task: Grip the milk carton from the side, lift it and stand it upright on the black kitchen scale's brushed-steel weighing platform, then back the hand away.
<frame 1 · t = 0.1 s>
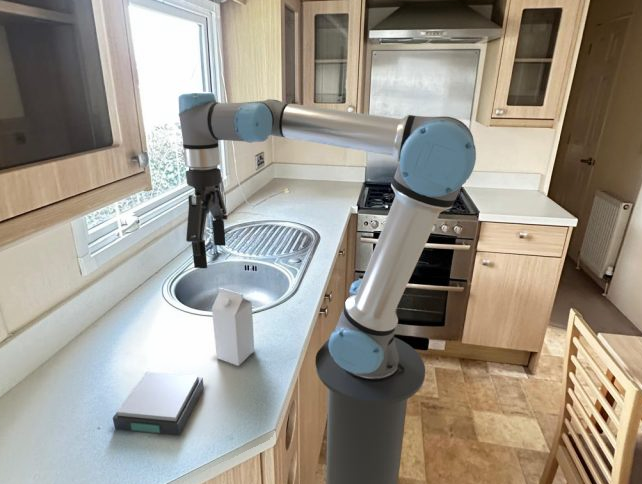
hand: (211, 255, 97), 28 cm above the worktop, tool pointing down, fingers open, 13 cm apart
kitchen scale: (162, 407, 90), on the worktop
milk carton: (235, 355, 107), on the worktop
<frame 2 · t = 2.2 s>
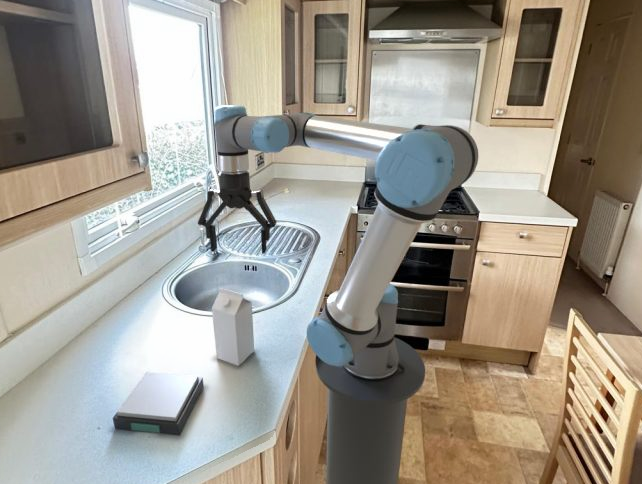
hand: (239, 250, 108), 25 cm above the worktop, tool pointing down, fingers open, 13 cm apart
nothing on the worktop moved.
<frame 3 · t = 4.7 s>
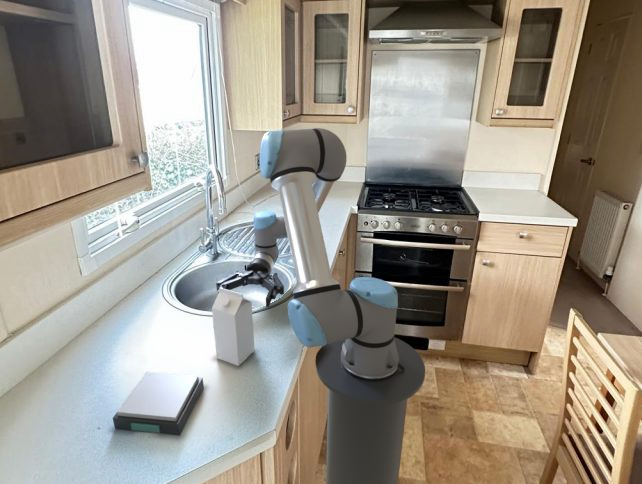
hand: (243, 301, 112), 11 cm above the worktop, tool horizontal, fingers open, 13 cm apart
nothing on the worktop moved.
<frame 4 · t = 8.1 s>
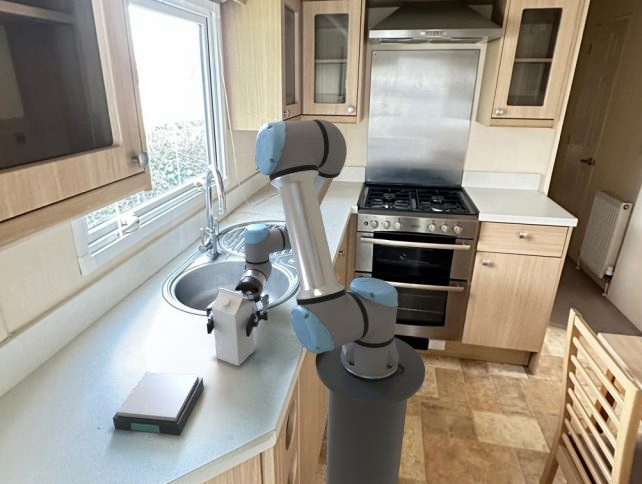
hand: (227, 330, 99), 11 cm above the worktop, tool horizontal, fingers closed on milk carton, 9 cm apart
milk carton: (235, 355, 107), on the worktop, touching gripper
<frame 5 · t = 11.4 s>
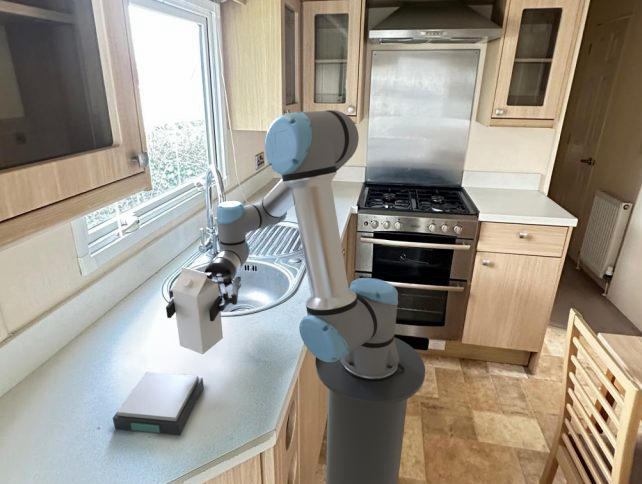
hand: (189, 314, 88), 20 cm above the worktop, tool horizontal, fingers closed on milk carton, 9 cm apart
milk carton: (201, 343, 96), point 9 cm above the worktop, touching gripper
when the fingers open (14 cm above the worktop, at t = 15.1 s): milk carton stays where it is, resting on kitchen scale.
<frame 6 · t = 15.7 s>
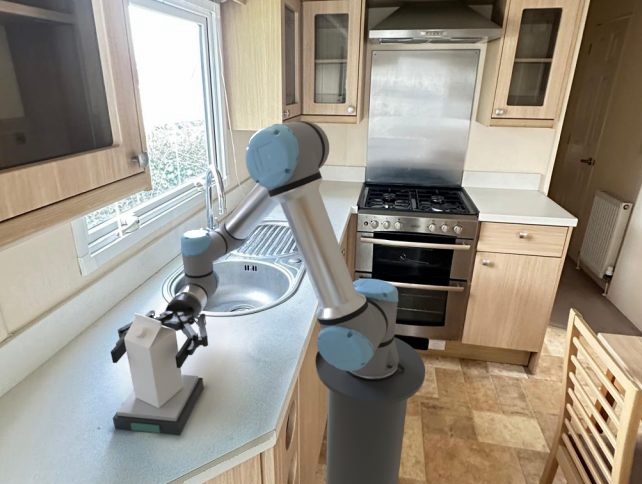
hand: (145, 360, 81), 15 cm above the worktop, tool horizontal, fingers open, 13 cm apart
milk carton: (159, 393, 88), point 4 cm above the worktop, touching kitchen scale
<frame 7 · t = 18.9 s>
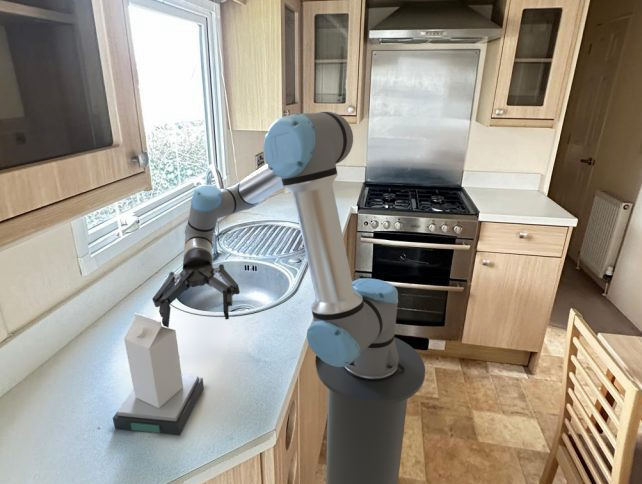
hand: (195, 320, 92), 17 cm above the worktop, tool tilted 75°, fingers open, 13 cm apart
nothing on the worktop moved.
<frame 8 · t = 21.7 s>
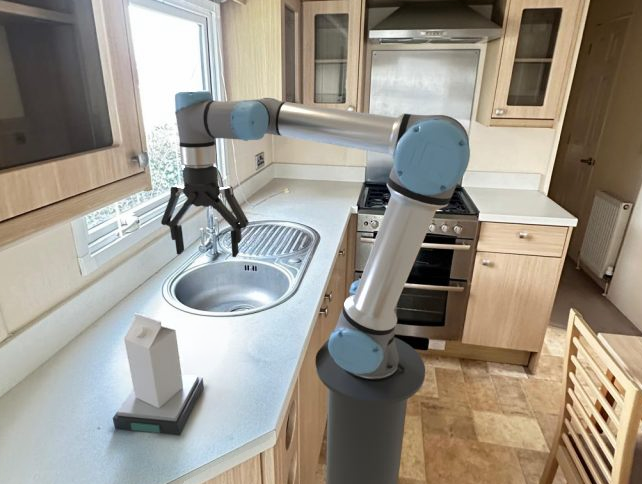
hand: (207, 253, 97), 29 cm above the worktop, tool pointing down, fingers open, 13 cm apart
nothing on the worktop moved.
at the end: milk carton inside the target area on the kitchen scale (0.1 cm from its centre), point 3.8 cm above the kitchen scale's base; milk carton tilted 0°; the gripper is holding nothing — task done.
